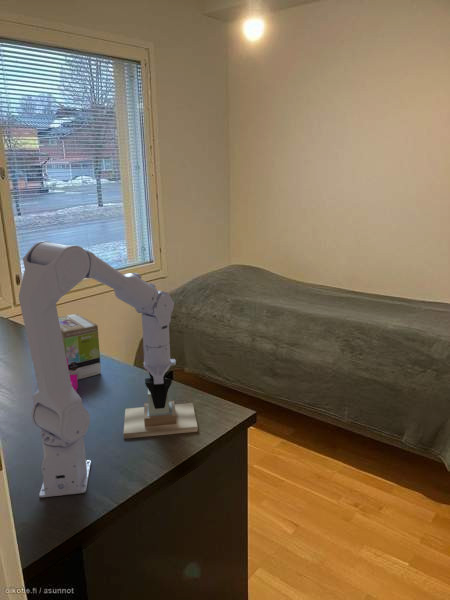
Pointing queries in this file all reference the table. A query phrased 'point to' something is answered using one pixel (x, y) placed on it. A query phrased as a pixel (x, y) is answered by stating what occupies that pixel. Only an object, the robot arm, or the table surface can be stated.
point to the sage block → (152, 408)
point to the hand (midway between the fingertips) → (159, 399)
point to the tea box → (81, 345)
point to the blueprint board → (143, 431)
